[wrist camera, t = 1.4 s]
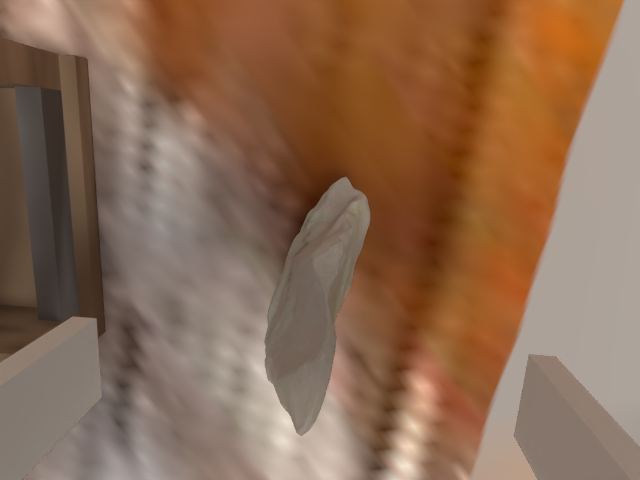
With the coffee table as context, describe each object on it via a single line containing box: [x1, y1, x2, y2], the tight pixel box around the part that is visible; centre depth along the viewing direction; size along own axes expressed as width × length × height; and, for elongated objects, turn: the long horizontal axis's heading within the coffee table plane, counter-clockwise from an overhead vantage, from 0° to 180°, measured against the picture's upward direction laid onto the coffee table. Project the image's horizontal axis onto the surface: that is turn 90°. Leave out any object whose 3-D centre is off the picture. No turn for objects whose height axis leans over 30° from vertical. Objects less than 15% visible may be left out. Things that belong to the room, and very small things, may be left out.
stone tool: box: [265, 177, 370, 436], centre depth 21 cm, size 11×4×15 cm, turn 165°
